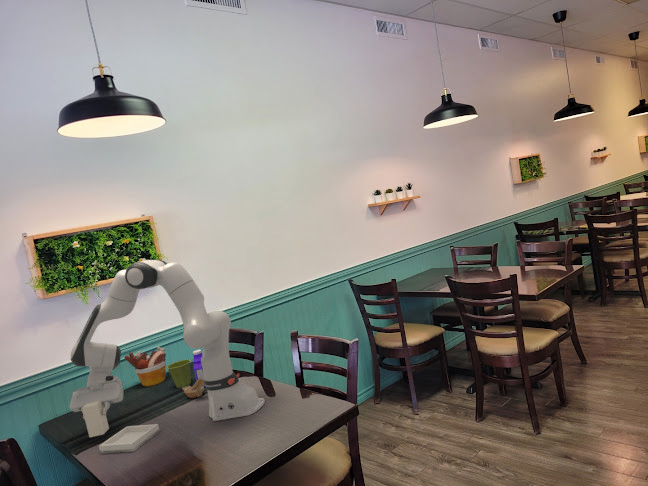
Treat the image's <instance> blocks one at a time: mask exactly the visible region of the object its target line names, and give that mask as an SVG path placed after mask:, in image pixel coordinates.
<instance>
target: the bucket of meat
mask: <svg viewBox="0 0 648 486" xmlns="http://www.w3.org/2000/svg"><path fill="white" fill-rule="evenodd" d="M156 349H157V350H152V351H151V353H150V355H149V354H148V353H147V352H145V351H144V352H143V353H141V350H138V351H137V352H136V353H135V354H134V353H133V352H129V354H128V355H125V356H124V359H125V360H126V361H127V363H129V365H131V366H132V367H134V371H135V373H136V375H137V377H138V379H139V381H140V383H141V385H142V386H143V387H148V388H149V387H153V386H157V385H159V384H162V383H163V382H165V379H166V377H167V374H166V373H167V372H166V371H167V368H166V367H167V366H166V364H167V360H166V355H167V353H165V352H164V351H166V350H165V348H164V347H161V346H157V347H156Z"/></svg>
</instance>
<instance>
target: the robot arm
mask: <svg viewBox="0 0 648 486" xmlns="http://www.w3.org/2000/svg"><path fill="white" fill-rule="evenodd" d="M157 286H161V287H162V288H163V289H164V290H165V292H166V293H167V295H168V296H169V298H170V299H171V301H172V303H173V304H174V306H175V307H176V309H177V311H178V312H179V315H180V317H181V321H182V324H183V333H182V334H183V335H182V338H183V341H184V343H185V344H186V345H187V346H188V347H189V348H191V349H194V350H199V349H202V350H203V352H202V358H201V364H202V368H203V373H204V377H205V380H204V382H205V389H206V392H207V397H208V398H207V399H208V409H209V410H208V417H210V418H211V419H212V421H213V422H216V421H222V420H223V421H224V420H229V419H235V418H239V417H248V416H251V415H252V414H254V413H256V412H258V411H259V410H260V409H261V408H262V407H263V406H264V405H265V403H266V401H265V398H264V397H259V395H258V393H257V391H256V389H255V388H254V387H253V386H250V385H248V384H246V383H244V382H242V381H240V380H239V377H240V373H239V372H238V373H237V374H236V373H235V372H234V371H233V365H232V362H231V361H232V360H231V358H230V350H229V349H230V348H229V341H230V339H229V338H230V337H229V336H230V328H231V325H232V320H231V318H230V316H229V314H228V313H226V312H225V311H222V310H213V311H210V312H207V310H206V307H205V296H204V294H203V293H202V291H201V289H200V288H199V285H197V283H196V282H195V281H194V278H193V277H192V276H191V275H190V273H189V272H188V271H187V270H186V269H185V268H184V267H183V266H182V265H181V264H180V263H179V262H175V261H173V262H168V263H167V261H165V260H162V259H145V260H141V261H137V262H134V263H132V264H130V265H129V266H128V267H127V268H126V269H122V270H119V271H117V272H116V274H115V276H114V278H113V280H112V282H111V284H110V287H109V290H108V293H107V297H106V298H105V299H104V301H102V302H101V303H100V304H97V305H96V306H95V307H94V308H93V310H92V312H91V314H90V315H89V317H88V319H87V321H86V324H85V325H84V327H83V329H82V332H81V333H80V335H79V337H78V339H77V341H76V343H75V344H74V346H73V347H72V349H71V351H70V361H71V363H72V364H74V366H76V367H84V368H85V367H89V369H88V370H89V374H88V377H87V380H86V381H87V383H86V386H85V387H82V388H77V389H76V390H75V391H73V392H72V395H71V400H70V403H69V409H70V410H71V411H72V412H74V413H78V412H82V414H83V410H82V407H84V406H85V405H86V404H87V403H91V402H95V401H100V400H101V402H103V406H104V408H103V409H102V410H101V415H106V416H107V414H108V413H107V412H108V410H109V408H110V407H111V405H112V404H116V403H120V402H122V401H123V399H124V388H123V387H122V386H123V382H122V380H121V379H120V378H119V377H118V376H116V375H112V373H111V372H112V371H114V370H115V369H116V368H117V367H119V366H120V363H121V357H122V356H121V355H122V349H121V348H120V347H119V346H118V345H117V344H114V343H103V342H94V341H92V338H93V336H94V334H95V332H96V331H97V328H98V326H99V325H101V324H103V323H104V322H108V321H113V320H119V319H123V318H125V317H126V316H128V315H130V314H131V313H132V311H133V310H134V309H135V306H136V303H137V299H138V295H139V293H140V291H141V290H145V289H149V288H150V289H152V288H154V287H157ZM82 419H83V420H84V421H85V418H84V414H83V415H82Z"/></svg>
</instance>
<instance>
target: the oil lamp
mask: <svg viewBox="0 0 648 486" xmlns="http://www.w3.org/2000/svg"><path fill="white" fill-rule="evenodd" d="M204 386H205V382H204V380H203V379H201V378H199V379H198V381H197V380H196V381H195V383H193V385H192V386H191V385H186V386H185V387H183V388H181V389H182V391H183V393H184V394H185V395H186V397H188V398H189V399H195V398H196V397H197V398H199V397H200V398H201V396H203V393H204V390H205V388H204Z"/></svg>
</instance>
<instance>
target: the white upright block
mask: <svg viewBox="0 0 648 486" xmlns="http://www.w3.org/2000/svg"><path fill="white" fill-rule="evenodd" d="M104 407H105V405H104V406H103V402H101V400H100V401H95V402H91V403H87V404H86V405H85V406H84V407H82V410H83V413H82V414H84V418H85V420H84V421H85V425H86V429H87V433H88V437H89V438H93V437H98V436H102V435H105V433H106V432H107V431H108V430H109V429H110V426H109V423H108V419H107V414H106V415H101V410H102V409H103V408H104Z"/></svg>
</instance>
